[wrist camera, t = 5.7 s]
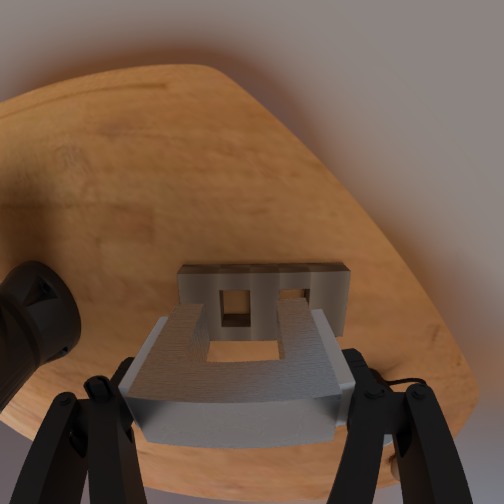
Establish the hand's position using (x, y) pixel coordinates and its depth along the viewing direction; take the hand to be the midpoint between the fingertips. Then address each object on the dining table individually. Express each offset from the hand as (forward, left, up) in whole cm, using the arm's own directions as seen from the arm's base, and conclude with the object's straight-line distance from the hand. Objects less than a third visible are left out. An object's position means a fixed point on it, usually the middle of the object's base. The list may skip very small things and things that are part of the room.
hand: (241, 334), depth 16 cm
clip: (0, 0, -1) cm, 1 cm away
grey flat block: (+2, -5, -15) cm, 16 cm away
